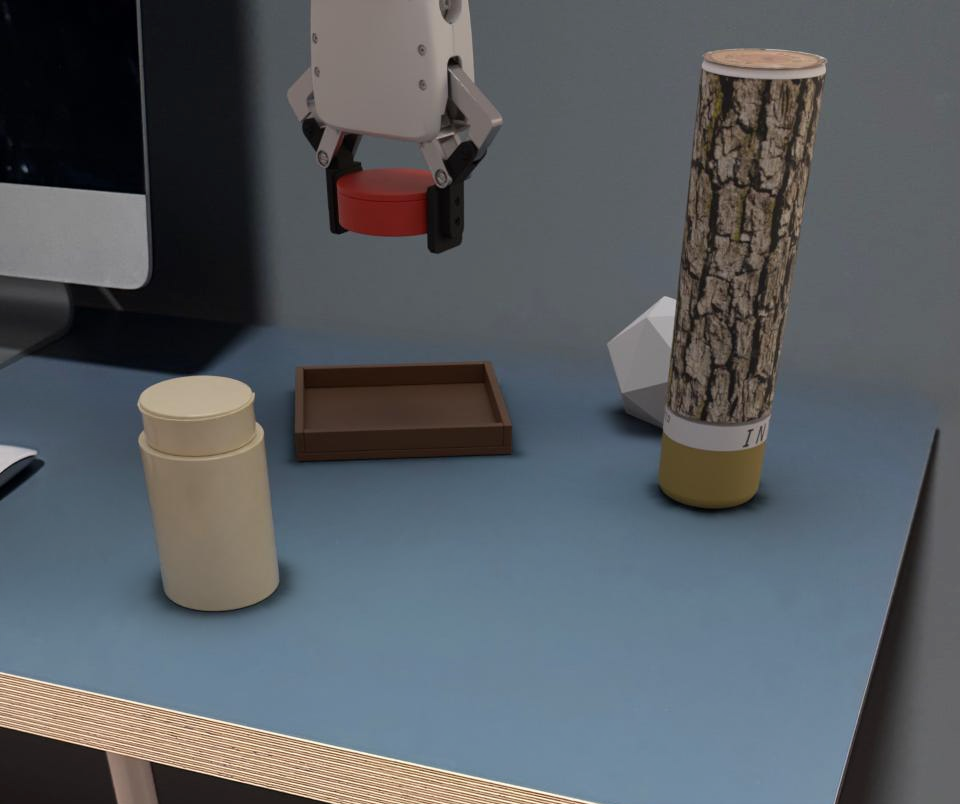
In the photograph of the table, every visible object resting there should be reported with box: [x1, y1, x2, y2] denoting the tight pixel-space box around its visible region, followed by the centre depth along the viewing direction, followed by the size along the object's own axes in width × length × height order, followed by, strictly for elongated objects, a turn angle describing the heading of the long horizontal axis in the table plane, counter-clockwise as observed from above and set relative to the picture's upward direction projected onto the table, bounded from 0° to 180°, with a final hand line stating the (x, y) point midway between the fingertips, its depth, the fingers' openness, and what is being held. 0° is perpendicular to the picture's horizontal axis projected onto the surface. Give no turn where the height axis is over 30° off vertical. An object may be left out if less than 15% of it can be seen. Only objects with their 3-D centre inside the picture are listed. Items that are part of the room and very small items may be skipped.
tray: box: [294, 360, 513, 462], centre depth 93 cm, size 15×13×2 cm
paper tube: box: [657, 48, 828, 510], centre depth 77 cm, size 7×7×25 cm
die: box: [606, 295, 677, 429], centre depth 92 cm, size 8×9×10 cm
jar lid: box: [337, 167, 435, 238], centre depth 84 cm, size 8×8×2 cm
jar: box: [136, 375, 281, 612], centre depth 71 cm, size 7×7×11 cm
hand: (395, 237), depth 85 cm, fingers closed on jar lid, 7 cm apart
